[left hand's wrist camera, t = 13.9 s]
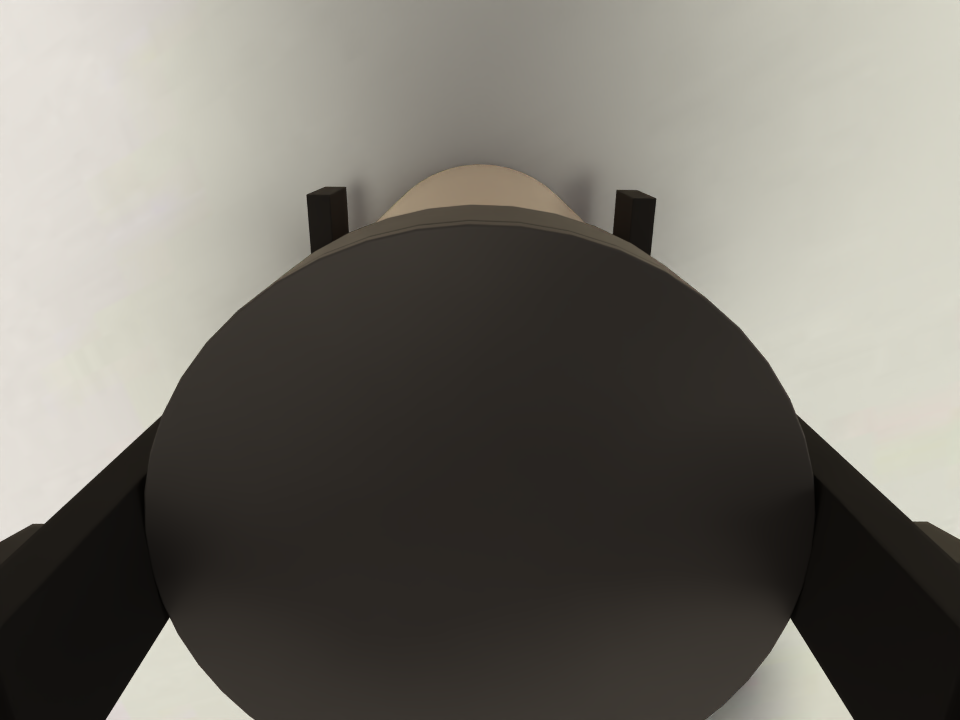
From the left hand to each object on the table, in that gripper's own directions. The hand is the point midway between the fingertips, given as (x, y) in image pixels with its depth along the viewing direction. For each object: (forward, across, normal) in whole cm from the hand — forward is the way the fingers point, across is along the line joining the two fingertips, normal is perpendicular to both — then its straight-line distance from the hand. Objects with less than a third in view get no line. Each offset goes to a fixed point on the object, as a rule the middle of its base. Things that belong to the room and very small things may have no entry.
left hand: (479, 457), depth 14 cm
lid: (-3, 0, 0) cm, 3 cm away
